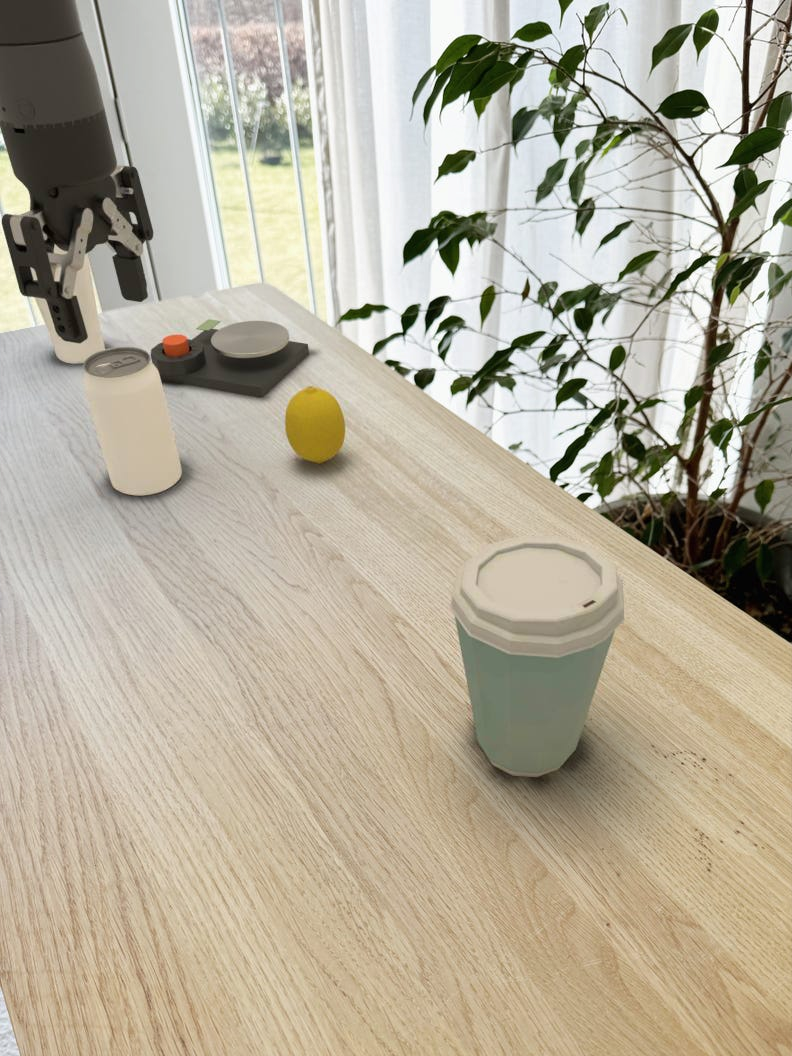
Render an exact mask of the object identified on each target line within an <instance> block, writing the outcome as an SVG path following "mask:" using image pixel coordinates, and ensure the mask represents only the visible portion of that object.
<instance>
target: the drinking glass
mask: <svg viewBox="0 0 792 1056" xmlns="http://www.w3.org/2000/svg"><path fill="white" fill-rule="evenodd" d="M54 253H55V254H62V255H64V254H67V253H68V252H67V251H63V250H61V249H60V248H58V247H57V246H56V245H54ZM30 268H31V267H30ZM31 272H32V276H33V280H37V276H36V272H35V270H34V269H33V268H31ZM60 273H61V267H58V268H57V269H56V271H55V278H54V281H59V280H60ZM73 295H74V296H77V299H78V303H79V306H80V310H81V314H82V317H83V321H84V324H85V328H86V331H87V335H88V338H87V339H86V340H85V341H83V342H82V343H73V342H67V341H64V340H63V339H62V338H61V337H59V336H58V334H57V333H56V331H55V327H54V324H53V321H52V320H53V319H52V317H51V314H50V311H49V308H48V304H47V301H46V300H45V299H42V298H36V297H33V298H34V300H35V303H36V305H37V307H38V310H39V313H40V315H41V317H42V320H43V323H44V325H45V327H46V329H47V333H48V336H49V338H50V339H51V340H50V341H51V344H52V346H53V350H54V354H55V355H56V357H57V358H58V360H60V362H63V363H66V364H72V365H76V364H77V365H78V364H84V362H85V360H86V359H87V358H88V357H90V356H91V355H93V354H95V353H97V352H99V351H102V350H106V345H105V342H104V337H103V334H102V330H101V324H100V319H99V313H98V308H97V302H96V297H95V291H94V285H93V279H92V273H91V268H90V262H89V256H88V253H86V254H85V258H84V264H83V267H82V269H81V270H79V271H78V272H77V274H76V280H75V287H74V293H73Z"/></svg>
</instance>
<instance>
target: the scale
mask: <svg viewBox="0 0 792 1056" xmlns="http://www.w3.org/2000/svg"><path fill="white" fill-rule="evenodd" d="M218 330H219V329H216V328H212V329H211V330H209V331H204V330H202V331H201V332H200V333H199V334H198V335H196V336H195V337H194V338H192V339H190V338H187V340H188V345H189V350H190V352H189V353H188V354H185V355H182V356H176V357H171V356H166V355H165V351H164V347H163V343H162V342H159V343H157V344H156V345H155V346H154V347H152V348H151V350H150V358H151V359H150V361H151V362H152V363H153V364H154V365H155V367H156V368H157V370H158V372H159V375H160V379H161V381H165V382H170V383H177V384H181V385H186V386H194V387H199V388H205V389H210V390H215V391H222V392H227V393H234V394H237V395H245V396H249V397H254V398H255V397H256V398H260V399H261V398H264V397H265V396H266V395H267V394H268V393H269V392H270V391H271V390H272V389H273V388H274V387H276V386H277V384H278V383H280V382H281V381H282V380H283V379H284V378H285V377H287V375H288V374H289V373H290V372H291V371H292V370H293V369H295V368H296V367H297V366H298V365H299V364H300V363H301V362H302V361H303V360H304V359H305V358H307V357H308V356H309V355H310V350H309V344H308V343H305V342H299V341H292V340H289V342H288V343H287V345H286V346H285V347H283V348H282V349H280V350H279V351H277V352H274V353H272V354H269V355H265V356H261V357H254V358H233V357H228V356H224V355H221V354H219V353H217V352H216V351H215V350H214V349H213V348H212V344H211V338H212V336H213V335H214V333H215V332H217V331H218Z"/></svg>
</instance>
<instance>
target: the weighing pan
mask: <svg viewBox="0 0 792 1056" xmlns="http://www.w3.org/2000/svg"><path fill="white" fill-rule="evenodd" d="M220 323H221V320H217V319H211V318H208V319H206V320H205V321H203V322H202V323H201V324H200V325H198V326H197V327H196V328H195V329H196V330H199V331H209V330H211V329H214V328H215V327H216V326H217V325H219V324H220ZM289 341H290V332H289V331H288V329H287V328H286V327H285V326H283V325H281V324H279V323H276V322H272V321H267V320H247V321H239V322H234V323H232V324H231V323H230V324H228V325H226V326H224V327H222V328H220V329H218V331H217V332H215V333H214V335H213V336H212V338H211V344H212V348H213V349H214V350H215V351H216V352H217V353H219V354H221V355H224V356H228V357H233V358H254V357H261V356H265V355H269V354H272V353H274V352H277V351H279V350H280V349H282V348H283V347H285V346H286V345H287V343H288V342H289Z"/></svg>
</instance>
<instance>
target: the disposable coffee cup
mask: <svg viewBox="0 0 792 1056" xmlns="http://www.w3.org/2000/svg"><path fill="white" fill-rule="evenodd" d="M454 578H455V579H454V582H453V587H452V593H451V599H450V604H449V609H450V611H451V612H452V614H453V615H454V621H455V625H456V630H457V631H456V632H457V636H458V642H459V647H460V652H461V658H462V663H463V668H464V673H465V679H466V686H467V691H468V695H469V701H470V707H471V712H472V717H473V723H474V728H475V734H476V739H477V743H478V745H479V746H480V748H481V749H482V751H483V753H484V754H485V755H486V757H487V759H488V760H489V762H490V764H491V765H492V766H493V767H495V768H497V769H499V770H501V771H503V772H504V773H507V774H509V775H511V776H514V777H515V776H516V777H529V778H539V777H541V776H543V775H547V774H549V773H552V772H555V771H558V770H559V769H560V768H561V767H562V766H563V765H564V764H565V762H567V760H568V759H569V758H570V757H571V755H572V754H573V753H574V752H575V751H576V750H577V747H578V744H579V741H580V738H581V735H582V733H583V732H582V731H583V729H584V726H585V723H586V719H587V716H588V713H589V712H590V711H589V710H590V708H591V705H592V702H593V698H594V695H595V692H596V689H597V687H598V684H599V681H600V677H601V674H602V671H603V668H604V664H605V662H606V659H607V656H608V653H609V650H610V647H611V644H612V641H613V638H614V636H615V635H614V634H615V632H616V630H617V629H618V628H619V626H621V624H622V623H623V622H624V621H625V598H624V597H625V596H624V595H625V594H624V593H625V592H624V584H623V583H624V581H623V580H624V579H622V578H621V577H620V576H619V574H618V566H617V565H616V564H615V563H613V561H611V560H610V559H609V558H608V557H607V556H605V554H603V553H602V552H601V551H600V550H599V549H598V548H597V547H595V546H593V545H590V544H587V543H583V542H580V541H577V540H574V539H571V538H568V537H564V536H560V535H528V534H527V535H526V534H523V535H519V536H515V537H511V538H507V539H504V540H499V541H496V542H492V543H489V544H487V545H486V546H484V547H482V548H481V549H480V550H478V551H477V552H476V553H475V554H474V555H472V557H470V558H469V559H468V560H466V561H465V562H464V563H463V564H461V565H460V566H459V567H458V568H457V569H456V573H455V577H454Z"/></svg>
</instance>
